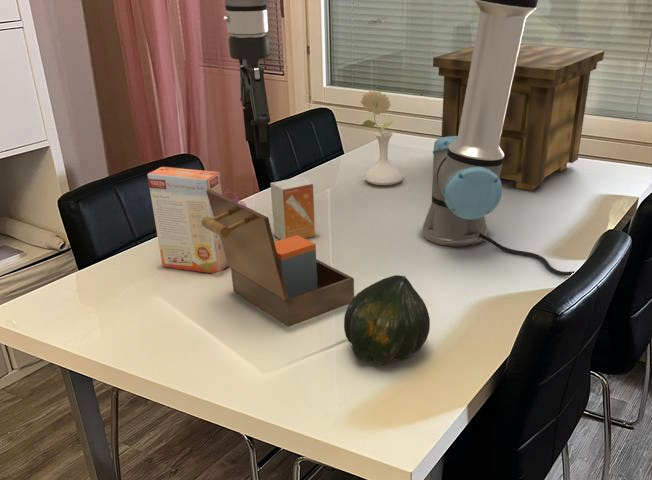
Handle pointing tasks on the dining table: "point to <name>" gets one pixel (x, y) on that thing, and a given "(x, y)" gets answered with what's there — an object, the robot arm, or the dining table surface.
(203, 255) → the cracker box
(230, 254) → the chest lid
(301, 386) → the dining table surface
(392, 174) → the flower in vase
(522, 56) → the wooden drawer cabinet
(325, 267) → the chest
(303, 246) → the container
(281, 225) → the small box
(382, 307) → the squash
